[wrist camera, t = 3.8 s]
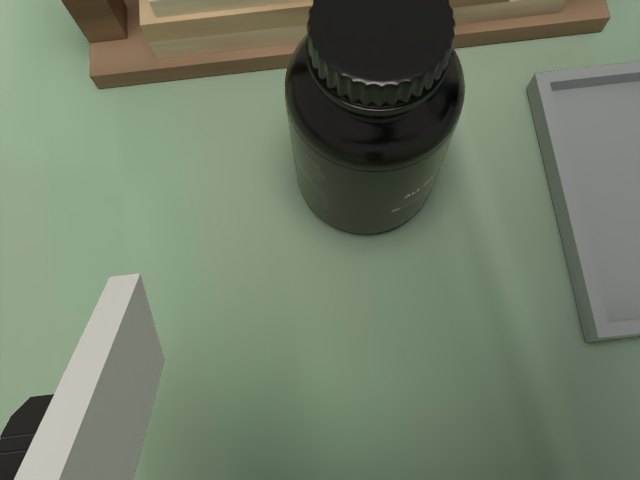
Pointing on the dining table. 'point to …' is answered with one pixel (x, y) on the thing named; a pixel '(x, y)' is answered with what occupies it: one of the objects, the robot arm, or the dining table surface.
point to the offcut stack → (277, 21)
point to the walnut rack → (143, 67)
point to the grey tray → (595, 187)
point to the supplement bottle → (373, 108)
